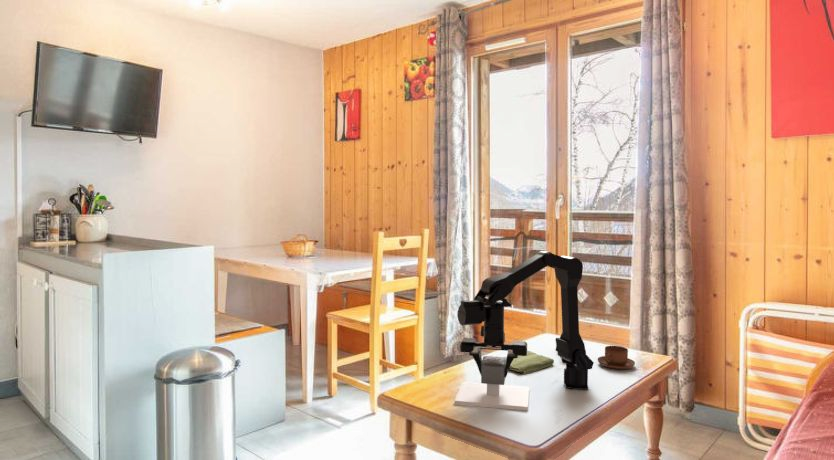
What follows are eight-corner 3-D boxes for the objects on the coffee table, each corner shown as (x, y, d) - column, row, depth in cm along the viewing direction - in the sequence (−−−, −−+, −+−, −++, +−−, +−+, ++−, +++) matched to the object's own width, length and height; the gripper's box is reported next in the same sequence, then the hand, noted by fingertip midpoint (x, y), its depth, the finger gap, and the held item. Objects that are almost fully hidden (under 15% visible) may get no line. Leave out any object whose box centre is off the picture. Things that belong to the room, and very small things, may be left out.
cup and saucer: (631, 374, 176) (632, 355, 176) (594, 368, 182) (594, 350, 182) (637, 364, 187) (637, 346, 186) (601, 359, 193) (601, 342, 192)
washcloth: (493, 366, 185) (493, 357, 185) (528, 357, 196) (528, 348, 195) (521, 376, 175) (521, 366, 174) (557, 366, 185) (557, 357, 185)
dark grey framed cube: (505, 377, 158) (505, 357, 158) (504, 385, 152) (504, 364, 151) (483, 375, 159) (483, 356, 159) (481, 383, 153) (481, 362, 153)
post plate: (529, 390, 161) (529, 373, 161) (527, 410, 146) (528, 392, 145) (462, 384, 166) (462, 368, 165) (454, 404, 150) (454, 386, 150)
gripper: (527, 317, 160) (527, 369, 161) (465, 315, 164) (465, 365, 165) (526, 326, 149) (526, 382, 150) (460, 323, 154) (459, 377, 154)
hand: (493, 376), depth 155 cm, fingers closed on dark grey framed cube, 6 cm apart
